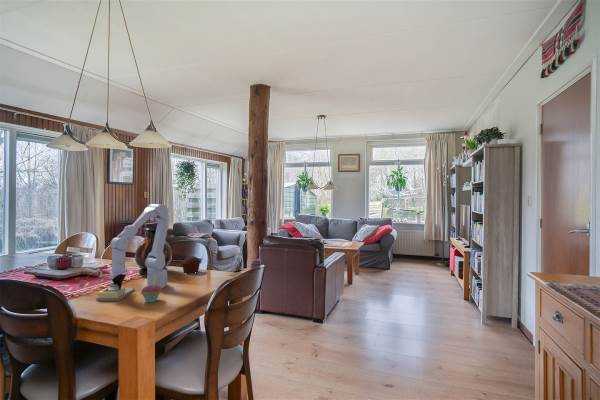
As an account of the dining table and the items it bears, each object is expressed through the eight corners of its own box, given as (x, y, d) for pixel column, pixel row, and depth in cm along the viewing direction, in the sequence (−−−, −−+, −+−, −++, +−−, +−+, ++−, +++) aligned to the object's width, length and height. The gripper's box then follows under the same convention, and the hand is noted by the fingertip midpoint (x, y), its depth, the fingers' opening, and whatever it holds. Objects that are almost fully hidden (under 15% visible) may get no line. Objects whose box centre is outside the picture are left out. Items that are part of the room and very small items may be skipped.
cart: (107, 293, 150) (108, 284, 150) (118, 292, 152) (119, 283, 152) (107, 297, 145) (107, 288, 145) (118, 296, 147) (119, 286, 147)
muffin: (180, 271, 205) (181, 255, 205) (198, 269, 211) (198, 254, 211) (183, 275, 195) (183, 258, 195) (201, 273, 200) (202, 257, 200)
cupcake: (155, 296, 152) (156, 271, 152) (164, 300, 146) (165, 274, 146) (137, 300, 145) (138, 274, 145) (146, 305, 140) (146, 277, 140)
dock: (134, 290, 160) (134, 283, 160) (119, 300, 144) (119, 292, 144) (113, 290, 159) (114, 283, 159) (96, 300, 143) (96, 292, 143)
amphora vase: (137, 269, 207) (139, 226, 207) (173, 268, 213) (174, 226, 213) (130, 277, 186) (132, 229, 186) (170, 275, 192) (171, 229, 192)
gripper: (117, 259, 160) (116, 286, 160) (101, 265, 145) (101, 294, 145) (131, 259, 160) (130, 286, 160) (117, 265, 146) (117, 294, 146)
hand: (117, 290), depth 153 cm, fingers closed
